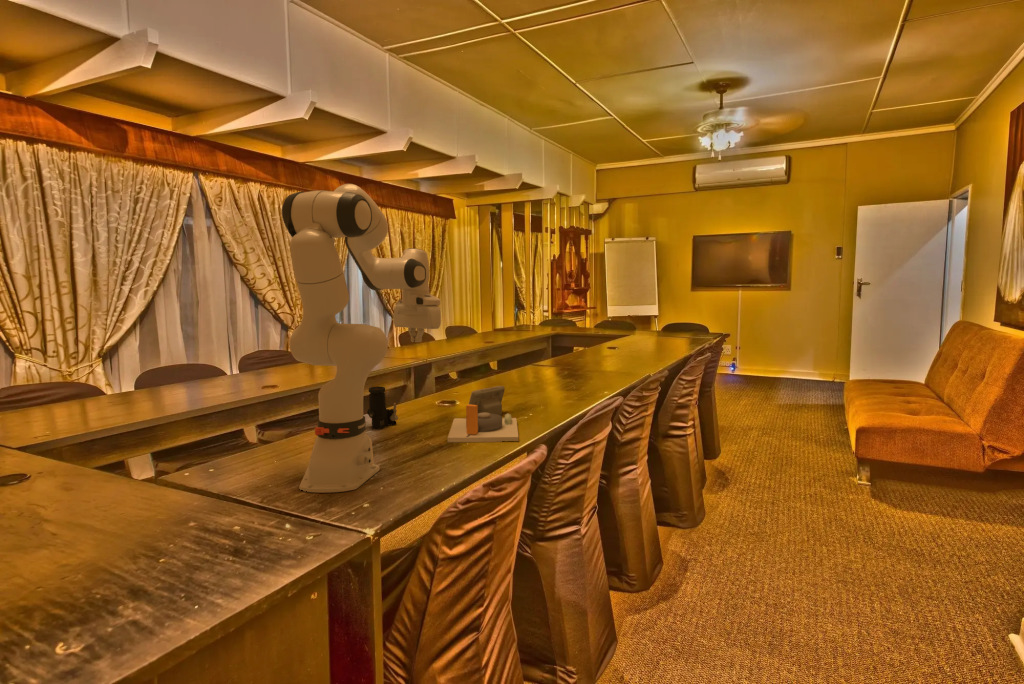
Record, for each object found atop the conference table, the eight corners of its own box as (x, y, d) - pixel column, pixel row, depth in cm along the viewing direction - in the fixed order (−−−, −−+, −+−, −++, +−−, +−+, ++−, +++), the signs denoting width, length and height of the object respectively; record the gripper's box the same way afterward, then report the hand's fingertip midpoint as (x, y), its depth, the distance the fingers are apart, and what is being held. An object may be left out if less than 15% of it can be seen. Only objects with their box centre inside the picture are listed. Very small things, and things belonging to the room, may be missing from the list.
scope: (397, 385, 189) (380, 391, 180) (398, 424, 191) (381, 431, 182) (377, 384, 192) (360, 389, 183) (379, 422, 194) (361, 429, 185)
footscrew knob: (475, 420, 189) (475, 394, 188) (507, 423, 185) (507, 397, 184) (453, 432, 174) (453, 404, 173) (488, 435, 170) (487, 407, 169)
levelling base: (518, 441, 170) (518, 429, 169) (447, 442, 169) (447, 430, 169) (516, 422, 194) (516, 411, 193) (454, 422, 193) (454, 411, 193)
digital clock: (498, 410, 211) (498, 383, 210) (511, 415, 204) (511, 387, 203) (461, 416, 202) (460, 388, 201) (473, 421, 195) (473, 392, 194)
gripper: (388, 299, 182) (389, 340, 183) (428, 299, 169) (429, 344, 170) (403, 299, 187) (404, 339, 188) (443, 299, 173) (444, 343, 175)
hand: (416, 341), depth 179 cm, fingers closed
